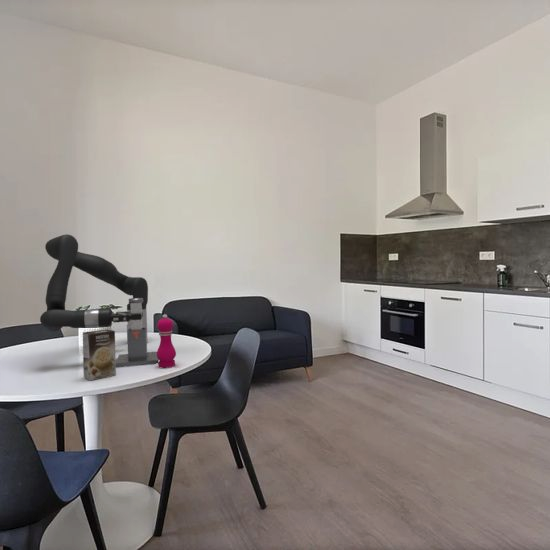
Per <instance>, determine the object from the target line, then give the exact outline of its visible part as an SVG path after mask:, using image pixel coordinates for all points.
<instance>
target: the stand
mask: <svg viewBox="0 0 550 550" xmlns="http://www.w3.org/2000/svg"><path fill="white" fill-rule="evenodd" d="M126 338H127V341H128V343H127V353H125V354H123V353H122V354H119V355H118V356H117V358H116V368H122V367H123V368H124V367H125V366H126V367H134V366H135V367H136V366H147V365H148V364H149V365H157V364H156V363H158V362H159V359H158V358H157V351H150V352H149V351H148V342H147V340H148V331H147V332H146V327H145V328H142V330H132V331H131V328H130V329H128V331H127V330H126ZM127 341H126V342H127Z"/></svg>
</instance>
